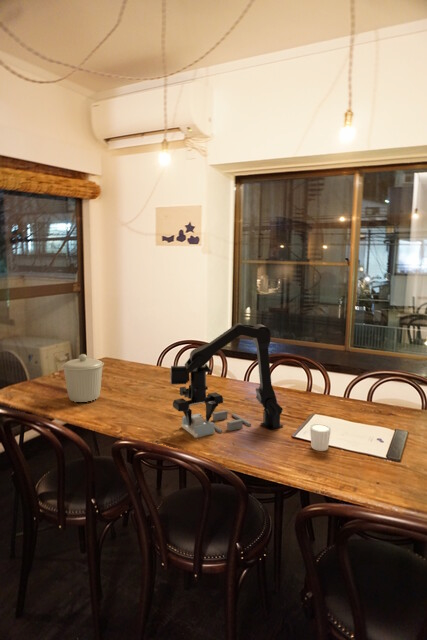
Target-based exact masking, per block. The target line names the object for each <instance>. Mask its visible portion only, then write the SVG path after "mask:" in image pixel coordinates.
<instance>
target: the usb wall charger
mask: <svg viewBox="0 0 427 640" xmlns="http://www.w3.org/2000/svg"><path fill="white" fill-rule="evenodd" d="M204 419H205V418H204V416H202V415H201V416H199V415H196V416H192V417H191V426H189V425H188V427H189V428H191V429H193V430H194V426H197V425H202V424H204V423H205V422H207V421H206V420H204Z"/></svg>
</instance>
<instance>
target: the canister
mask: <svg viewBox="0 0 427 640" xmlns="http://www.w3.org/2000/svg"><path fill="white" fill-rule="evenodd" d="M104 365H105V362H103V361H101V360H100V359H97V358H90V357H89V358H88V355H86V353H81V354H79V356H78V358H76V359H75V358H73V359H70V360H68V361H66V362H65V363H63V364H62V365H61V368H62V369H63V373H64V378H65V380H64V381H65V386H66V390H67V396H68V399H69V400H70V401H71V402H73V401H74V402H73V403H76V402H87V401H91V402H93V401H92V400H94V401H96V400H97V399H98V398H99V397H100V394H101V387H102V377H103V376H102V375H103V366H104ZM95 399H96V400H95ZM87 403H88V402H87Z"/></svg>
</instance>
